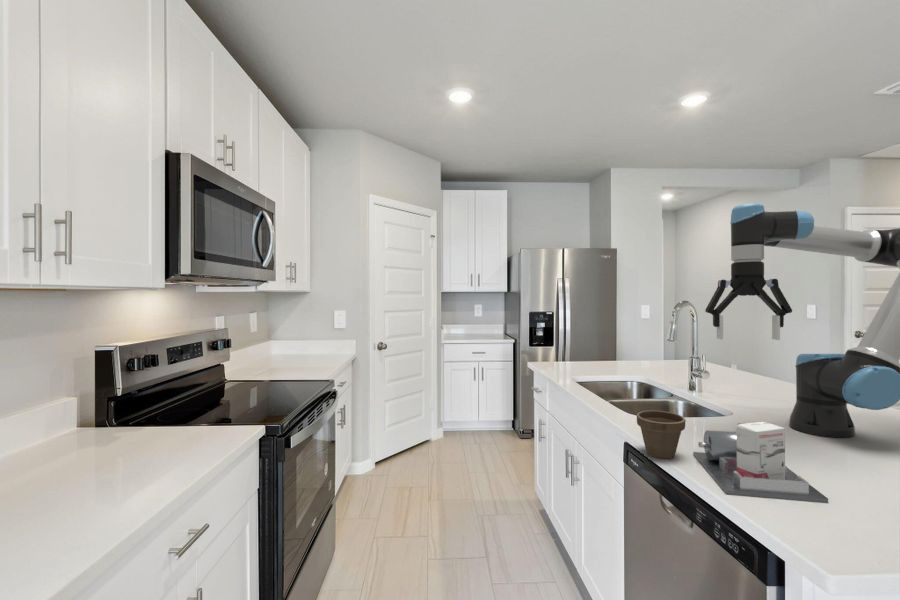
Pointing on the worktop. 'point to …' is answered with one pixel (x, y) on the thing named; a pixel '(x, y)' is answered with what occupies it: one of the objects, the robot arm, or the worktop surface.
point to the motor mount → (724, 471)
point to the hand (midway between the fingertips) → (747, 339)
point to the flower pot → (660, 432)
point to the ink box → (761, 450)
